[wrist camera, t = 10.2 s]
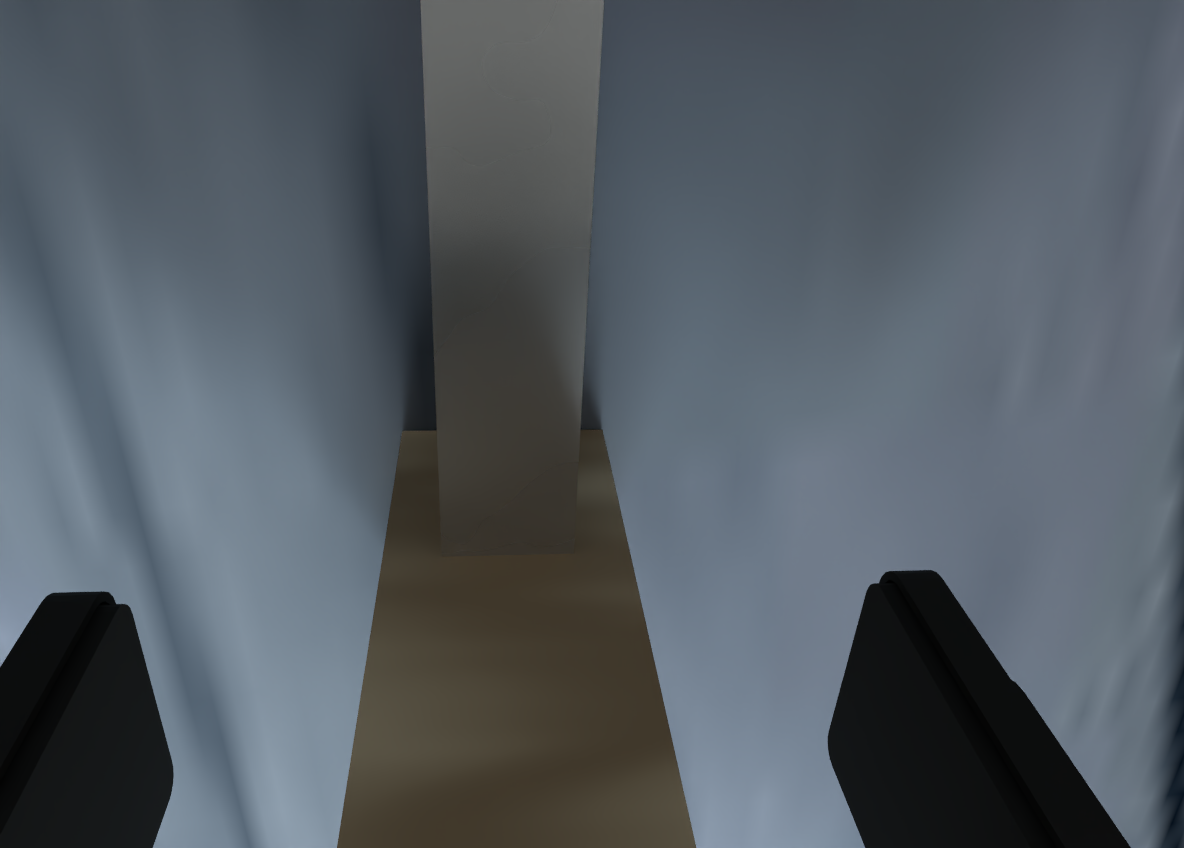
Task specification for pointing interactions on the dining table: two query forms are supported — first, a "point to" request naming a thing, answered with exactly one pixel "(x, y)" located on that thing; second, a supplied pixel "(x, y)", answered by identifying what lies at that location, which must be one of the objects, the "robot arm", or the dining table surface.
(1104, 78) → the dining table surface
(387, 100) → the dining table surface
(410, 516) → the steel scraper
